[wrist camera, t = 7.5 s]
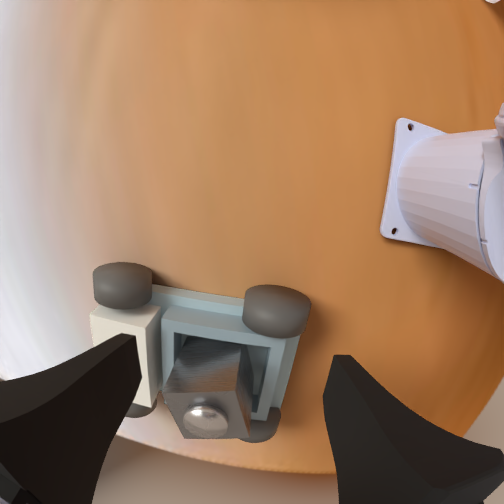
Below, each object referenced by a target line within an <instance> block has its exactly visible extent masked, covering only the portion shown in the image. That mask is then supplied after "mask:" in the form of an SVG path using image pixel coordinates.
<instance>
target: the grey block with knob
mask: <svg viewBox="0 0 504 504" xmlns="http://www.w3.org/2000/svg"><path fill="white" fill-rule="evenodd" d="M253 384H254V373H253V369H252V365H251V360H250V356H249V352H248V347H247V344H241V343H234V342H228V341H221V340H215V339H209V338H204V337H198V336H187V338H186V340H185V342H184V344H183V346H182V349H181V351H180V353H179V355H178V357H177V360H176V362H175V364H174V366H173V368H172V371H171V373H170V375H169V377H168V380H167V382H166V384H165V386H164V388H163V391H162V395H163V397H164V399H165V401H166V403H167V405H168V408H169V410H170V412H171V414H172V416H173V418H174V420H175V422H176V424H177V426H178V427H179V429H180V431H181V433H182V435H183V437H184V438H186V439H232V438H249V437H250V424H251V411H252V398H253Z"/></svg>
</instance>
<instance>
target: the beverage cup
mask: <svg viewBox="0 0 504 504" xmlns="http://www.w3.org/2000/svg"><path fill="white" fill-rule="evenodd" d="M486 1H487V2H490V3H496V2H498V1H500V0H486Z"/></svg>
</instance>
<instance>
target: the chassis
mask: <svg viewBox="0 0 504 504" xmlns="http://www.w3.org/2000/svg"><path fill="white" fill-rule="evenodd" d="M93 286H94V298H95V300H96V301H97V302H98V303H99V304H100V305H99V306H98V307H97V308H95V309H94V310H93V311H92V312H91V313H90V314H89V317H90V325H91V332H92V339H93V345H94V347H95V346H97V345H99V344H101V343H102V342H104V341H106V340H108V339H110V338H112V337H114V336H116V335H118V334H120V333H125V334H130V335H136V341H137V348H138V355H139V361H140V367H141V373H142V380H141V382H140V385H139V388H138V391H137V393H136V396H135V399H134V401H133V402H132V404H131V406H130V408H129V410H128V412H127V414H126V415H125V416H126V417H130V418H139V417H143V416H146V415H148V414H150V413H151V412H152V411H153V410H154V409H155V407H156V404H157V400H156V397H157V394H158V392H159V391H163V388H164V386H165V384H166V382H167V380H168V377H169V375H170V373H171V371H172V368H173V366H174V364H175V362H176V360H177V357H178V355H179V353H180V351H181V349H182V346H183V344H184V342H185V340H186V338H187V336H198V337H204V338H209V339H215V340H221V341H228V342H234V343H241V344H247V347H248V352H249V356H250V360H251V365H252V369H253V373H254V384H253V398H252V411H251V424H250V437H249V438H238V439H240V440H242V441H245V442H250V443H259V442H264V441H267V440H269V439H270V438H272V437H273V436H274V434H275V433H276V431H277V427H278V424H279V421H280V418H281V412H280V408H281V405H282V401H283V398H284V394H285V391H286V387H287V384H288V380H289V376H290V373H291V369H292V365H293V362H294V358H295V354H296V350H297V346H298V342H299V338H300V334H302V333H303V332H304V331H305V328H306V324H307V320H308V316H309V312H310V308H311V301H310V299H309V298H308V297H307V296H305V295H304V294H302V293H301V292H299V291H296V290H294V289H291V288H287V287H283V286H277V285H258V286H254V287H251V288H249V289H248V290H247V291H246V293H245V299H242V298H235V297H228V296H222V295H215V294H209V293H203V292H197V291H191V290H185V289H179V288H173V287H167V286H162V285H156V284H152V271H151V270H150V269H149V268H147V267H145V266H143V265H140V264H135V263H128V262H116V263H109V264H105V265H102V266H99V267H97V268H96V269H95V270H94V271H93ZM164 404H167V403H166V401H165V399H164Z"/></svg>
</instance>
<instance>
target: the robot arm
mask: <svg viewBox="0 0 504 504" xmlns="http://www.w3.org/2000/svg"><path fill="white" fill-rule="evenodd" d="M494 121H495V125H496V128H497V129H490V130H480V131H471V132H462V133H454V134H447V133H445V132H442V131H440V130H437V129H434V128H432V127H429V126H426V125H424V124H421V123H418V122H415V121H412V120H409V119H406V118H400V119H398V120H397V121H396V126H395V136H394V145H393V153H392V161H391V168H390V175H389V181H388V187H387V193H386V199H385V205H384V210H383V215H382V220H381V225H380V233H381V235H382V236H384V237H386V238H390V239H396V240H401V241H406V242H411V243H417V244H422V245H427V246H432V247H437V248H442V249H445V250H447V251H449V252H451V253H453V254H455V255H457V256H458V257H460V258H462V259H464V260H466V261H467V262H469V263H471V264H473V265H475V266H476V267H478V268H480V269H481V270H483V271H485V272H487V273H488V274H490V275H492V276H493V277H495V278H497V279H498V280H500V281H501V282H502V283H503V284H504V103H502V105H501V108H500V111H499V115H497V116H496V118H495V120H494ZM408 124H409V125H411V127H412V130H411V131H410V130H409V129H408ZM393 228H396V233H395V234H392V229H393ZM141 380H142V373H141V367H140V361H139V355H138V348H137V341H136V335H130V334H125V333H120V334H118V335H116V336H114V337H112V338H110V339H108V340H106V341H104V342H102V343H101V344H99V345H97V346H95V347H93V348H91V349H89V350H88V351H86V352H84V353H82V354H80V355H78V356H76V357H74V358H72V359H70V360H68V361H66V362H63V363H61V364H59V365H57V366H55V367H52V368H50V369H47V370H44V371H41V372H38V373H36V374H32V375H29V376H25V377H21V378H17V379H13V380H8V381H2V382H0V504H92V500H93V496H94V491H95V488H96V484H97V481H98V477H99V474H100V471H101V467H102V465H103V462H104V459H105V456H106V453H107V451H108V448H109V446H110V444H111V441H112V439H113V438H114V436H115V434H116V432H117V430H118V428H119V426H120V425H121V423H122V421H123V419H124V417H125V415H126V414H127V412H128V410H129V408H130V406H131V404H132V402H133V401H134V399H135V396H136V393H137V391H138V388H139V385H140V382H141ZM323 405H324V415H325V422H326V426H327V431H328V435H329V439H330V444H331V448H332V452H333V457H334V461H335V466H336V472H337V480H338V493H339V504H484V502H483V500H484V499H486V498H487V496H489V495H490V494H491V493H492V492H493V491H494V490H495V489H496V488H497V487H498V486H499V485H500V484H501V483H502V482H503V481H504V454H503V453H502V451H501V450H500V449H497V448H493V447H490V446H486V445H482V444H478V443H475V442H472V441H469V440H467V439H464V438H461V437H459V436H456V435H454V434H452V433H450V432H448V431H446V430H444V429H442V428H440V427H438V426H436V425H434V424H432V423H431V422H429V421H427V420H425V419H424V418H422V417H421V416H419V415H418V414H416V413H415V412H413V411H412V410H410V409H409V408H408V407H406V406H405V405H404V404H403V403H401V402H400V401H399V400H398V399H396V398H395V397H394V396H393V395H392V394H390V393H389V392H388V391H387V390H386V389H385V388H384V387H383V386H381V385H380V384H379V383H378V382H377V381H376V380H375V379H374V378H373V377H372V376H371V375H370V374H369V373H368V372H367V371H366V370H365V369H364V368H363V367H362V366H361V365H360V364H359V363H358V362H357V361H356V360H355V359H354V358H353V357H352V356H351V355H334V357H333V361H332V364H331V368H330V372H329V376H328V379H327V383H326V386H325V390H324V393H323Z"/></svg>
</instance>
